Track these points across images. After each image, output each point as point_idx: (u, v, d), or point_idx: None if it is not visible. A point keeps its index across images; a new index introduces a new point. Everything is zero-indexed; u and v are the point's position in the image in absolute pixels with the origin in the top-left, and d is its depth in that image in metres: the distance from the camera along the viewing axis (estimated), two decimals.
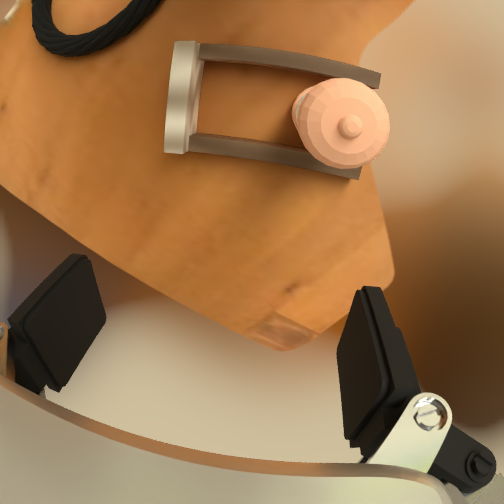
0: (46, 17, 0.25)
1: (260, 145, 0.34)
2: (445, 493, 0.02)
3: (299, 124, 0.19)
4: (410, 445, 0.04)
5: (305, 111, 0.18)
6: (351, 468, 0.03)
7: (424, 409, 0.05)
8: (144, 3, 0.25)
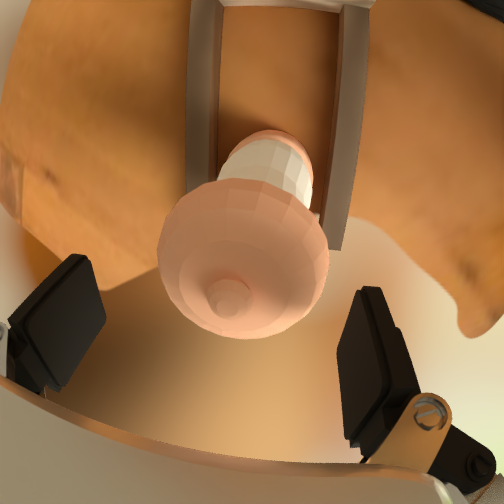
0: None
1: (208, 94, 0.21)
2: (445, 493, 0.02)
3: (220, 187, 0.10)
4: (410, 445, 0.04)
5: (247, 202, 0.09)
6: (351, 468, 0.03)
7: (424, 409, 0.05)
8: None
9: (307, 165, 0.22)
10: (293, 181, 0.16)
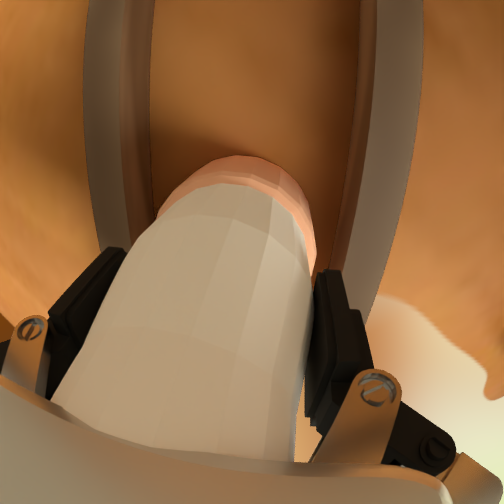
0: None
1: (116, 100, 0.10)
2: (445, 493, 0.02)
3: None
4: (351, 418, 0.05)
5: None
6: (351, 467, 0.03)
7: (370, 386, 0.06)
8: None
9: (306, 233, 0.12)
10: (264, 370, 0.05)
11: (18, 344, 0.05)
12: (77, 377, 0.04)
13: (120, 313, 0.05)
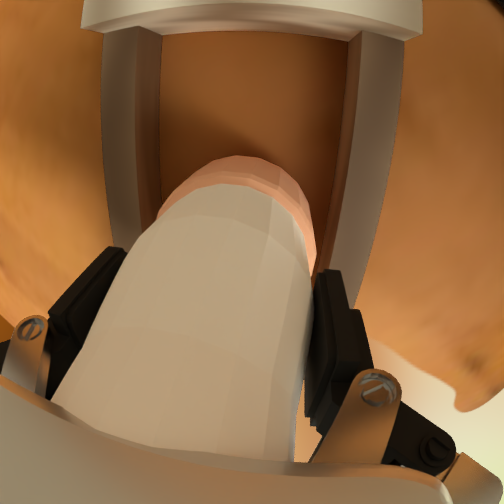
0: None
1: (136, 197, 0.14)
2: (445, 493, 0.02)
3: None
4: (351, 417, 0.05)
5: None
6: (351, 468, 0.03)
7: (370, 386, 0.06)
8: None
9: (306, 234, 0.12)
10: (264, 370, 0.05)
11: (18, 344, 0.05)
12: (77, 377, 0.04)
13: (120, 313, 0.05)
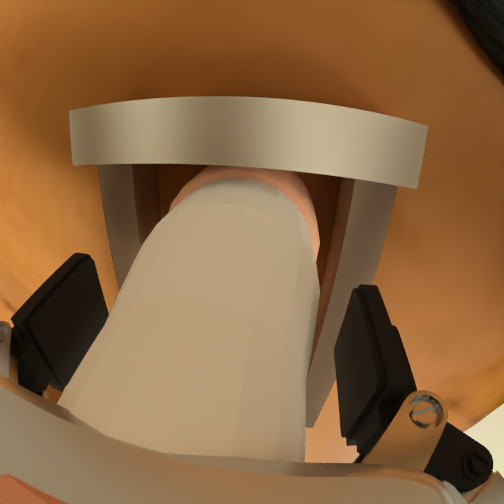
0: None
1: None
2: (445, 493, 0.02)
3: None
4: (405, 442, 0.04)
5: None
6: (351, 468, 0.03)
7: (420, 407, 0.05)
8: None
9: (310, 224, 0.12)
10: (278, 334, 0.06)
11: None
12: (108, 341, 0.05)
13: (146, 285, 0.06)
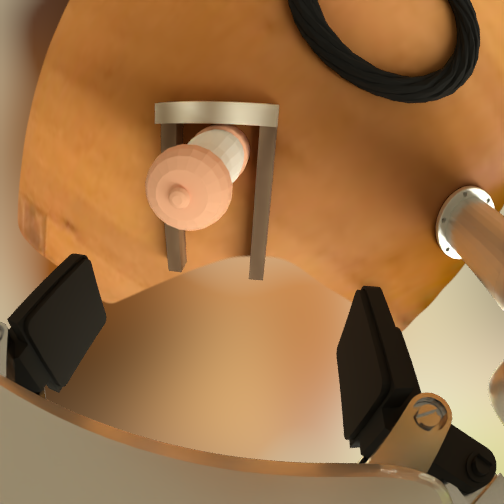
0: None
1: None
2: (445, 493, 0.02)
3: (175, 148, 0.20)
4: (410, 445, 0.04)
5: (186, 153, 0.20)
6: (351, 468, 0.03)
7: (424, 409, 0.05)
8: (339, 63, 0.27)
9: (243, 145, 0.33)
10: (223, 150, 0.26)
11: None
12: None
13: (193, 143, 0.26)
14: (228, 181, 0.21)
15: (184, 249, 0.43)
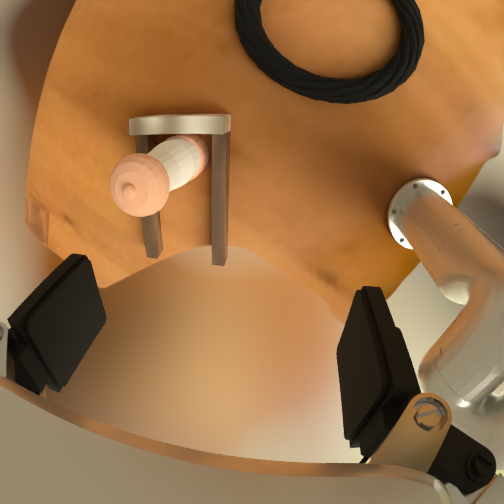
0: None
1: None
2: (445, 493, 0.02)
3: (128, 156, 0.27)
4: (410, 445, 0.04)
5: (134, 159, 0.27)
6: (351, 468, 0.03)
7: (424, 409, 0.05)
8: (277, 74, 0.34)
9: (198, 150, 0.39)
10: (172, 156, 0.33)
11: None
12: None
13: (151, 151, 0.33)
14: (164, 179, 0.28)
15: (160, 239, 0.50)
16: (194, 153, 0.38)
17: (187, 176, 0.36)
